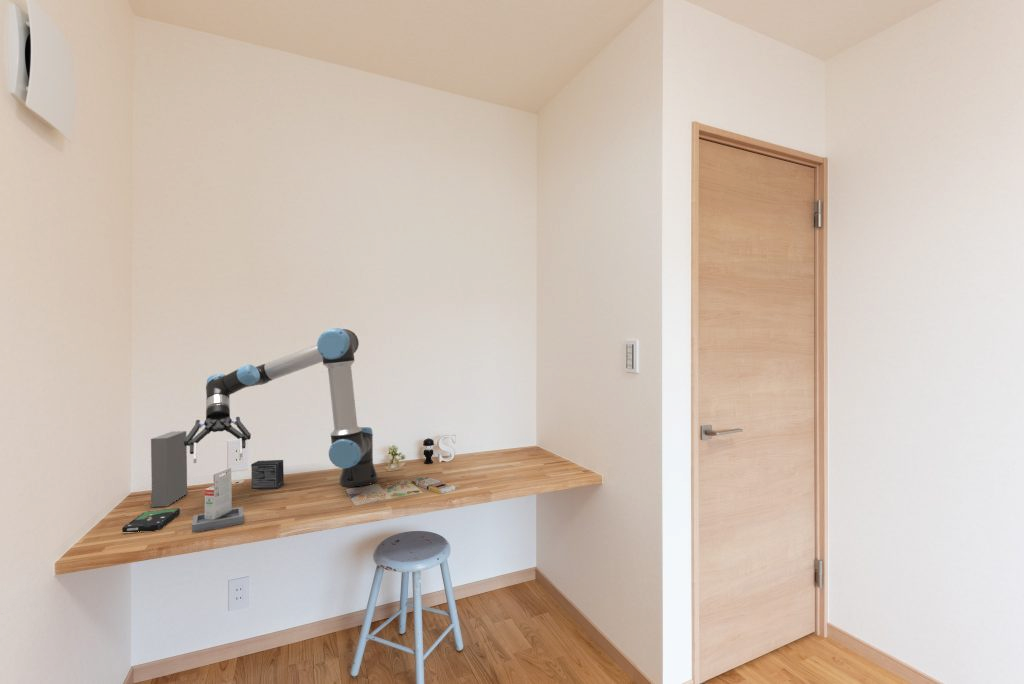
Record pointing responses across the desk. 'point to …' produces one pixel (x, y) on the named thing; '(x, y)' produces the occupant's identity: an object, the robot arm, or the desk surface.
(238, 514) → the holder
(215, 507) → the ink box
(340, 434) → the robot arm
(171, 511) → the disk drive
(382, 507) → the desk surface
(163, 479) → the dark grey slab
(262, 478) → the small box
